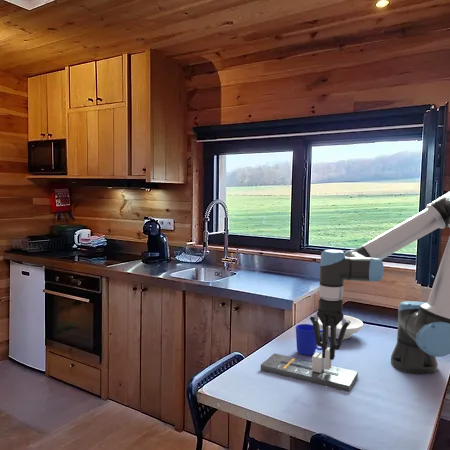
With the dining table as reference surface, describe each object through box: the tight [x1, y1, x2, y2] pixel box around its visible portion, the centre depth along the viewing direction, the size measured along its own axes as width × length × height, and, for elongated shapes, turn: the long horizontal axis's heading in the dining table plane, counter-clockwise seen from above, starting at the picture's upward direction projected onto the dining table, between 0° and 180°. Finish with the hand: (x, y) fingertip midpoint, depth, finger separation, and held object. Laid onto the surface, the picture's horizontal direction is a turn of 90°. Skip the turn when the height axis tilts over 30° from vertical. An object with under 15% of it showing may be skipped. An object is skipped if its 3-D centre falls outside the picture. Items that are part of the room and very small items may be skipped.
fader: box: [311, 351, 325, 373], centre depth 142 cm, size 3×4×5 cm
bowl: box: [318, 314, 364, 340], centre depth 181 cm, size 20×20×7 cm
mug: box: [295, 323, 323, 356], centre depth 162 cm, size 8×12×10 cm
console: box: [260, 353, 359, 393], centre depth 144 cm, size 30×12×2 cm, turn 60°
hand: (327, 368), depth 140 cm, fingers closed
